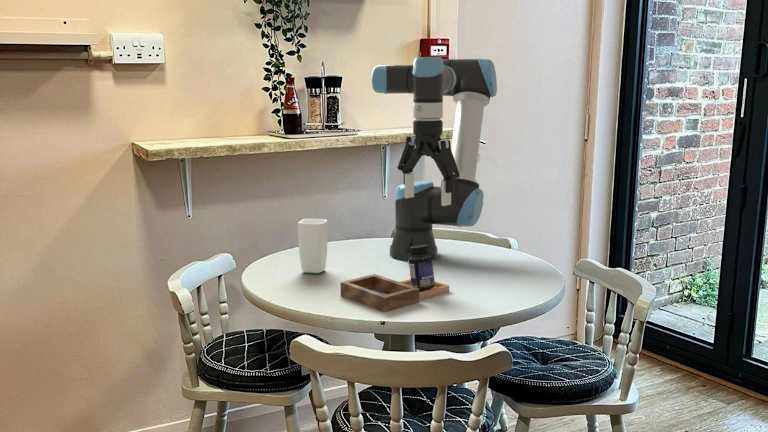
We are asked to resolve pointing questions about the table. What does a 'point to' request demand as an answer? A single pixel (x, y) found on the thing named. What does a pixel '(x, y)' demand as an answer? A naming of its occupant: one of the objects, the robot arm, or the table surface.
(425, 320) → the table surface
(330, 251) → the table surface
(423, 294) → the tray
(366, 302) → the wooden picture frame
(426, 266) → the pill bottle
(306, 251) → the cup
